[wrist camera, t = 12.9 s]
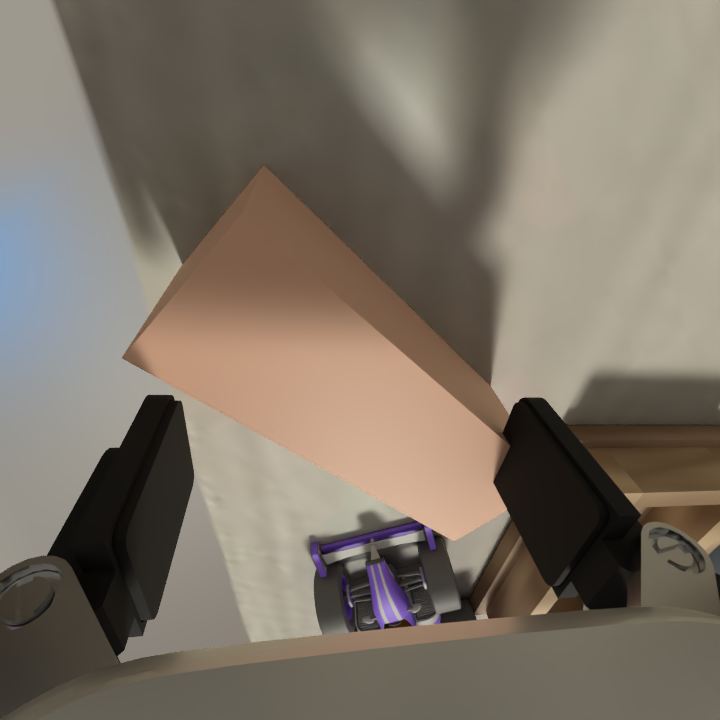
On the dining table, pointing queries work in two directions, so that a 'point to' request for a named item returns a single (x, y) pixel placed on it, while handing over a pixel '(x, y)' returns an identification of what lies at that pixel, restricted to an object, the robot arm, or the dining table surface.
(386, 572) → the toy race car
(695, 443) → the jig
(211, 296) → the salmon orange rectangular block
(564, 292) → the dining table surface
